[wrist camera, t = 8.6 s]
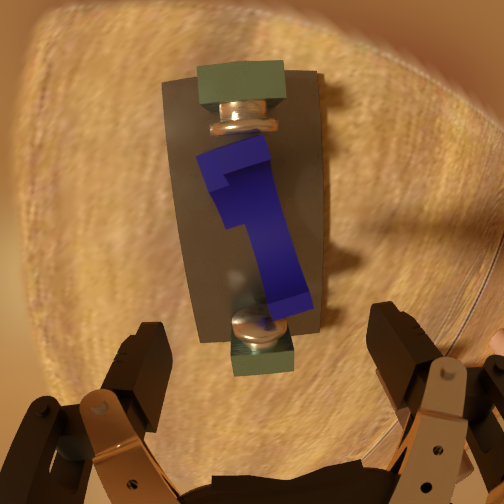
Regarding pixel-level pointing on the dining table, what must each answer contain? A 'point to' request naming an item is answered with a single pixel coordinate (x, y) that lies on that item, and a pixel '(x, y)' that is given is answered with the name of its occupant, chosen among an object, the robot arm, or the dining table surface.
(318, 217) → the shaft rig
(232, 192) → the blue curved bracket
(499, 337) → the smoothie
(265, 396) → the dining table surface
